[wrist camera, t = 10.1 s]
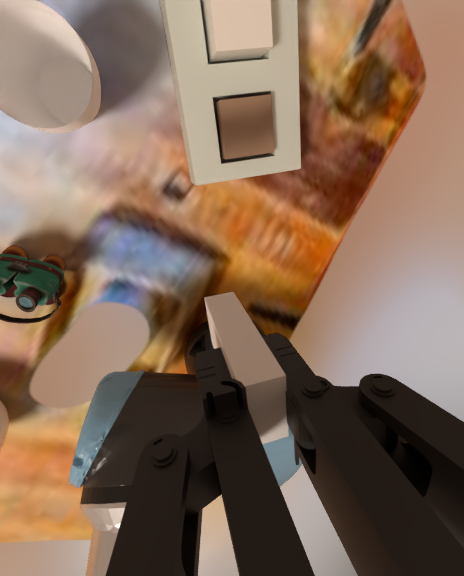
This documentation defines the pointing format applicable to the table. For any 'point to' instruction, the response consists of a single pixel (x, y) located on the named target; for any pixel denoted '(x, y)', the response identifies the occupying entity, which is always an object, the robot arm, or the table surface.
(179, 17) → the key panel
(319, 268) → the table surface
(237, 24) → the ivory key
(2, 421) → the lidded bowl
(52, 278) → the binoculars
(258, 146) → the walnut key
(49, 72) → the cup
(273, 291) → the table surface
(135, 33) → the table surface
